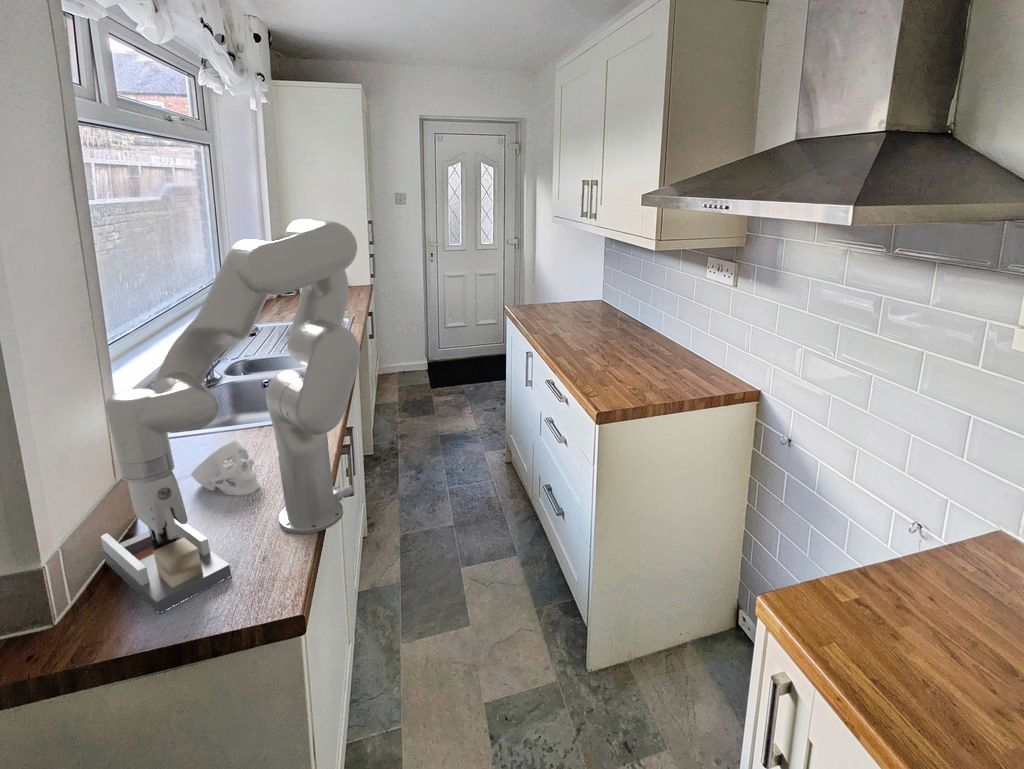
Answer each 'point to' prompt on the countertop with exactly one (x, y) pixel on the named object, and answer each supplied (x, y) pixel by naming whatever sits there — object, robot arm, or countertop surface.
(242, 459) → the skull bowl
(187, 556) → the block
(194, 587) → the gray tray
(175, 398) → the robot arm
